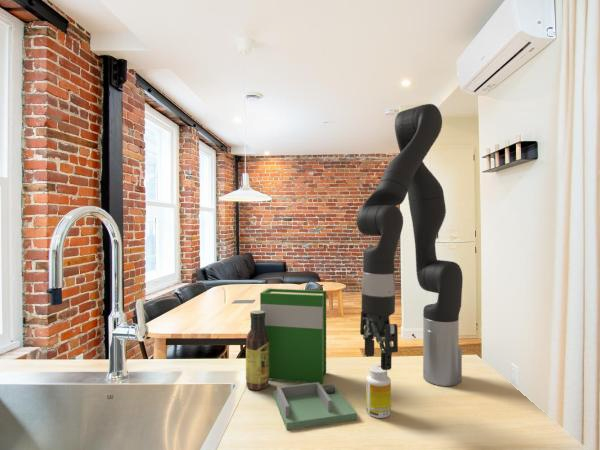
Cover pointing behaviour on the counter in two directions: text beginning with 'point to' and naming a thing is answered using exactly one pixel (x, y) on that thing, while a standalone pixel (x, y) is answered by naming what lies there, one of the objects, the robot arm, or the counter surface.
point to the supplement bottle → (378, 393)
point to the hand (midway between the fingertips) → (377, 362)
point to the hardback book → (295, 333)
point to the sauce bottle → (257, 353)
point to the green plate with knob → (312, 405)
